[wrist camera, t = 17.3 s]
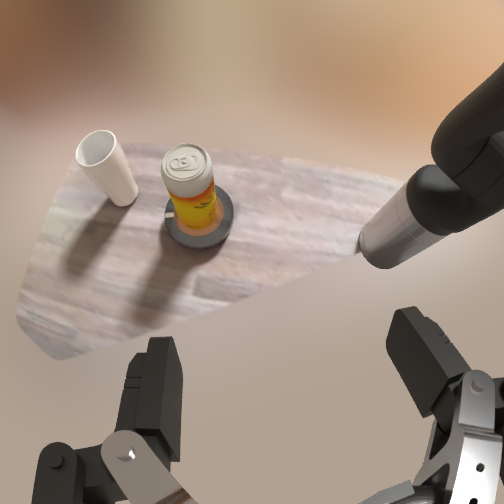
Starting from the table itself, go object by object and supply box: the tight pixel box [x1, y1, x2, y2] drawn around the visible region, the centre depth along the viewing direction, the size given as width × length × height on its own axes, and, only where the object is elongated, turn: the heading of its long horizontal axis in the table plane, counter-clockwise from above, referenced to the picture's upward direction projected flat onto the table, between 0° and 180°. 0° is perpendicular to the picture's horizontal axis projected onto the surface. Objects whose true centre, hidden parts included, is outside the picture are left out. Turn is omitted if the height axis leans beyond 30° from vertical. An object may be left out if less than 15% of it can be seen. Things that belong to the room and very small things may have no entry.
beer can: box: [161, 143, 218, 230], centre depth 41 cm, size 6×6×15 cm
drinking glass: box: [75, 130, 138, 206], centre depth 44 cm, size 7×7×15 cm
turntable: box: [165, 185, 234, 250], centre depth 49 cm, size 11×11×2 cm
